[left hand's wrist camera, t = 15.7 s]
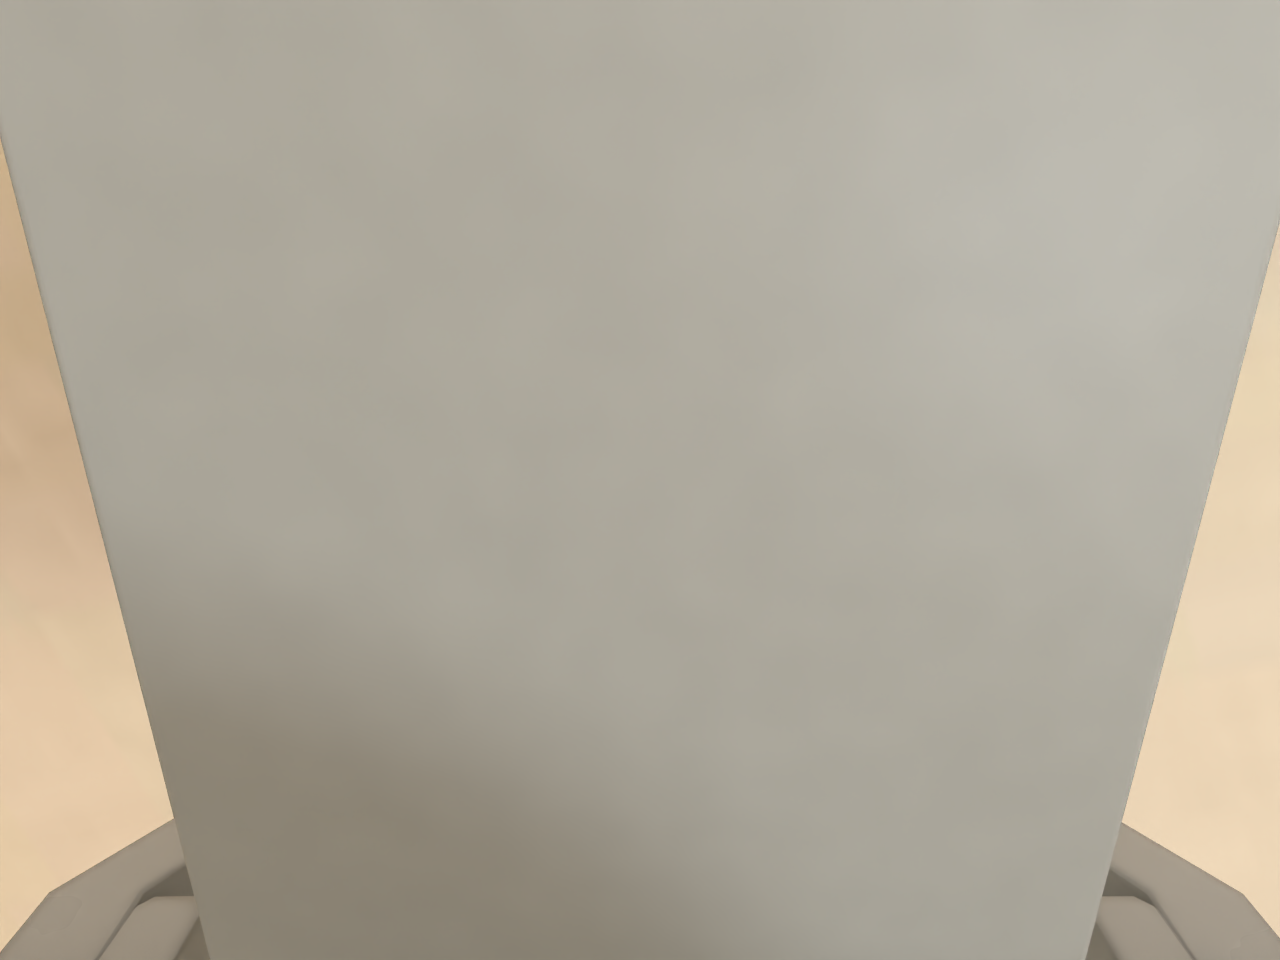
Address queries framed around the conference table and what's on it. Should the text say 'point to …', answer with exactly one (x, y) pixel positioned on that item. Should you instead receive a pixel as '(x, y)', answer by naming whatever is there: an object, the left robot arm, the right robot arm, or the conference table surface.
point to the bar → (647, 447)
